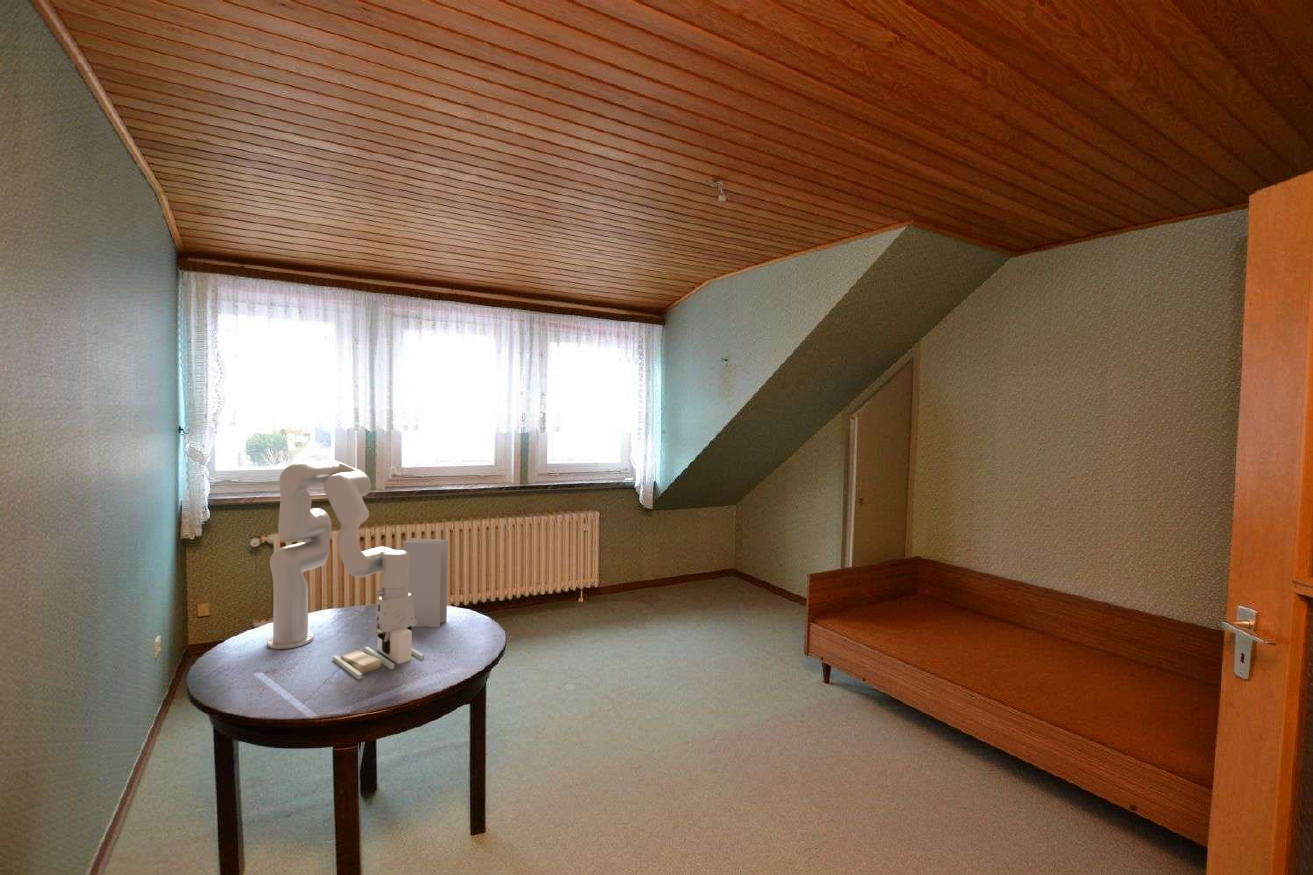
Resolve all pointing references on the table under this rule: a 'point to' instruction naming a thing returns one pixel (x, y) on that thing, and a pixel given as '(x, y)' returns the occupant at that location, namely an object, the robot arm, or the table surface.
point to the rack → (374, 654)
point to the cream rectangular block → (398, 645)
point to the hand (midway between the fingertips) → (394, 649)
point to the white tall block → (428, 580)
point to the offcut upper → (361, 661)
